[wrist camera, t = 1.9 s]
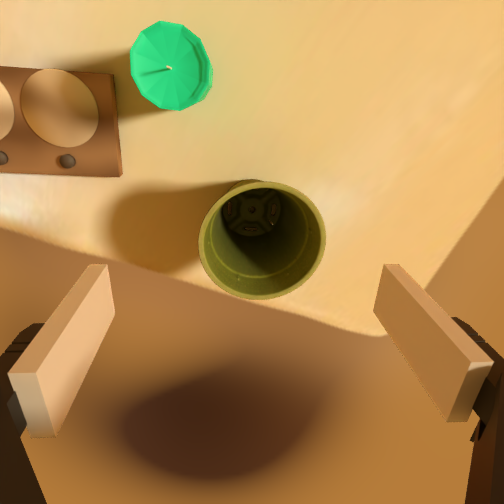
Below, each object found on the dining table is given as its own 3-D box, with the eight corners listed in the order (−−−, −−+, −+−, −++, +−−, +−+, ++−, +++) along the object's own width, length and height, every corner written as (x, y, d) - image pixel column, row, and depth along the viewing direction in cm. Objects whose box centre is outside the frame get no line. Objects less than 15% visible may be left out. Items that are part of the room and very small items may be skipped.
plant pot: (230, 266, 45) (232, 318, 35) (185, 185, 40) (173, 217, 30) (314, 229, 44) (342, 271, 33) (279, 141, 39) (300, 158, 29)
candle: (225, 79, 36) (227, 74, 25) (182, 118, 37) (166, 129, 26) (185, 25, 33) (168, -7, 23) (141, 68, 35) (104, 58, 24)
